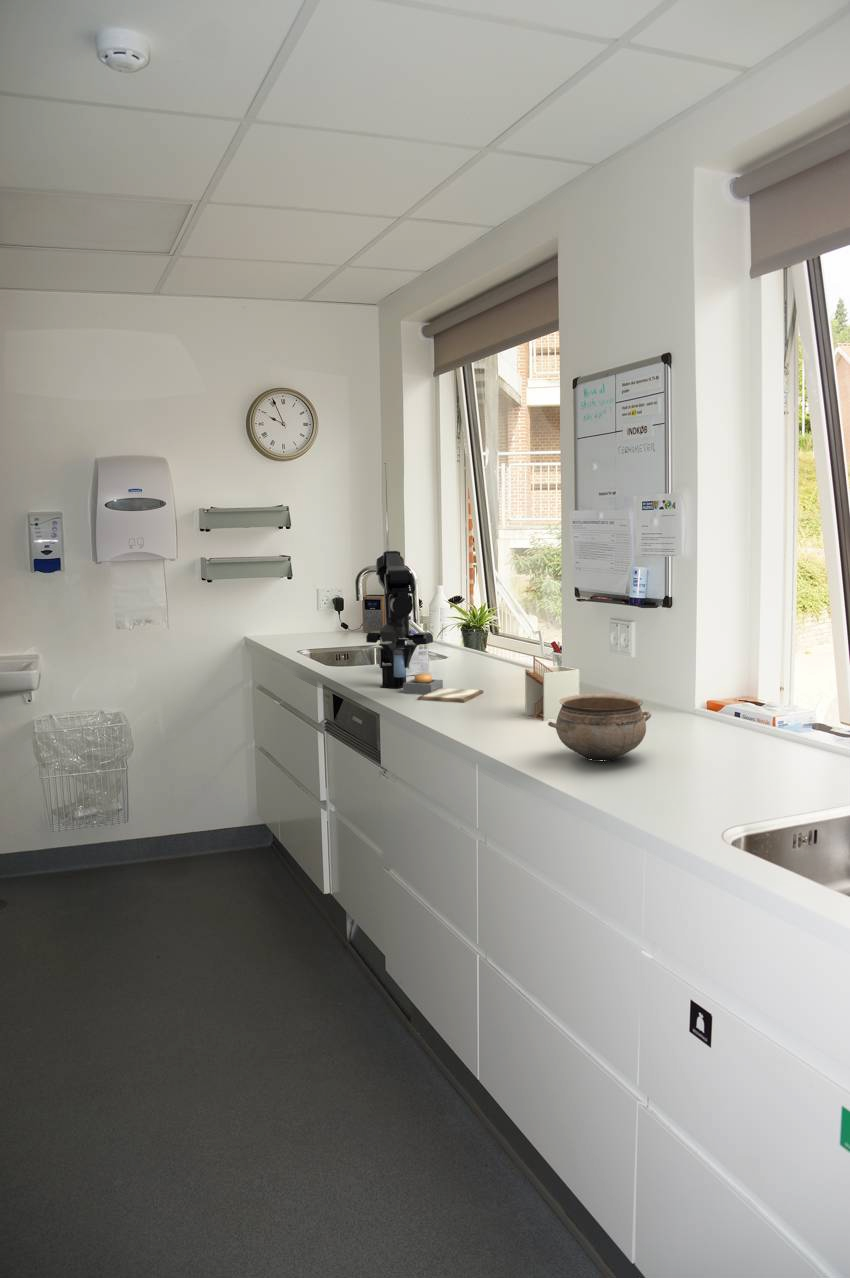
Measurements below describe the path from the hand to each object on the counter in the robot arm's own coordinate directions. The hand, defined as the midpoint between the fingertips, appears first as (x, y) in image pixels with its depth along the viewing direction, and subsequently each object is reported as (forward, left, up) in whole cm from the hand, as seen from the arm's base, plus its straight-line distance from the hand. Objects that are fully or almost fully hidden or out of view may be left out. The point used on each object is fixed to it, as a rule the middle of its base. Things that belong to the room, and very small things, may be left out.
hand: (400, 667), depth 283 cm
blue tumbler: (0, 0, -3) cm, 3 cm away
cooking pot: (+70, -51, -9) cm, 87 cm away
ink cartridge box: (-14, +41, -9) cm, 44 cm away
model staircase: (+48, -11, -10) cm, 50 cm away
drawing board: (+13, +7, -9) cm, 17 cm away
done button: (+2, +12, -6) cm, 14 cm away
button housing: (+2, +12, -9) cm, 15 cm away
